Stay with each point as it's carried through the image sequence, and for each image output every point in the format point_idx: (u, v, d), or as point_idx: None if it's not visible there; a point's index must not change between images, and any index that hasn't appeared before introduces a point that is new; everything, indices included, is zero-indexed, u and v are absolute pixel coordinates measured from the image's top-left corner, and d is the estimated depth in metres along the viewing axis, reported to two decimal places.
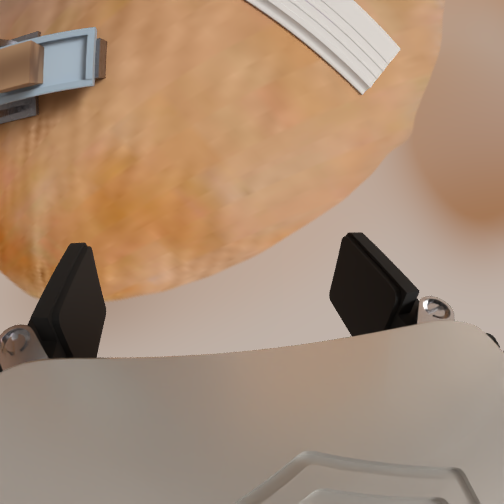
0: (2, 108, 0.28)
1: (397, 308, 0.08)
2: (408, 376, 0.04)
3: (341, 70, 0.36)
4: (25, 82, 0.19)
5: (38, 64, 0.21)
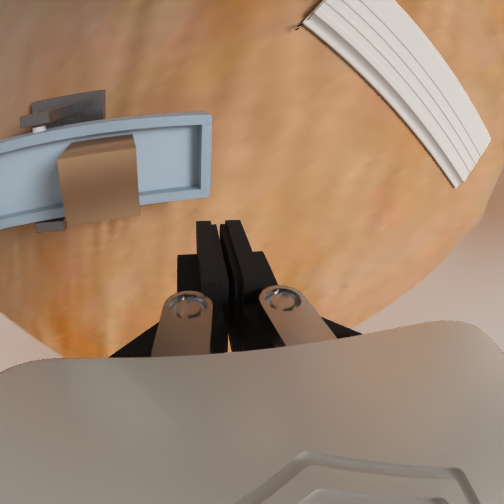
0: None
1: (241, 296, 0.08)
2: (408, 376, 0.04)
3: (444, 167, 0.35)
4: (134, 214, 0.19)
5: None
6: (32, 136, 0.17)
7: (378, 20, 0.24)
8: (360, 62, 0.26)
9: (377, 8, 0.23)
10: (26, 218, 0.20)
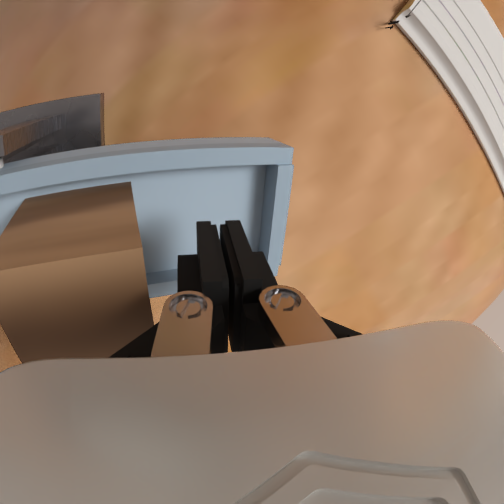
0: None
1: (241, 296, 0.08)
2: (407, 376, 0.04)
3: None
4: None
5: None
6: None
7: (472, 31, 0.15)
8: (454, 81, 0.18)
9: (471, 16, 0.14)
10: None
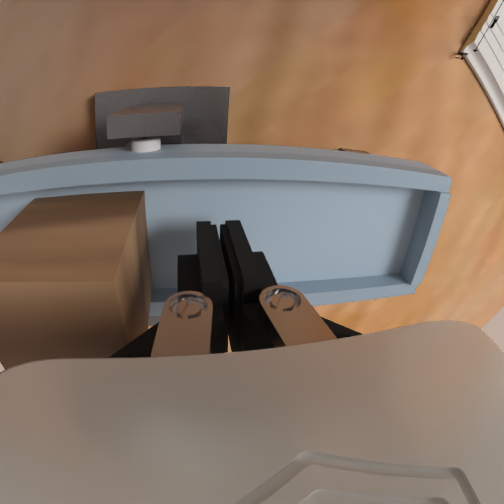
0: None
1: (241, 296, 0.08)
2: (407, 376, 0.04)
3: None
4: None
5: (141, 275, 0.10)
6: (136, 162, 0.10)
7: None
8: (501, 103, 0.19)
9: None
10: None
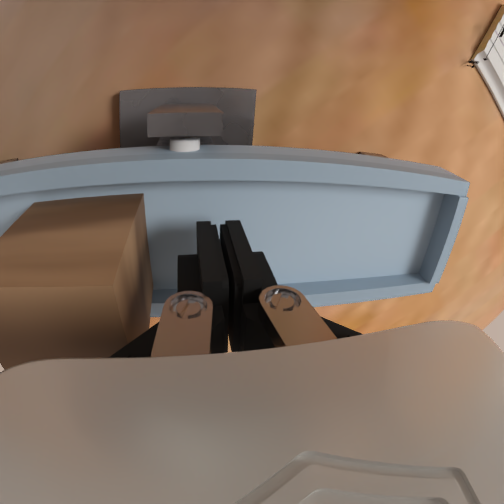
0: None
1: (241, 296, 0.08)
2: (407, 376, 0.04)
3: None
4: None
5: (142, 278, 0.11)
6: (180, 162, 0.10)
7: None
8: None
9: None
10: None
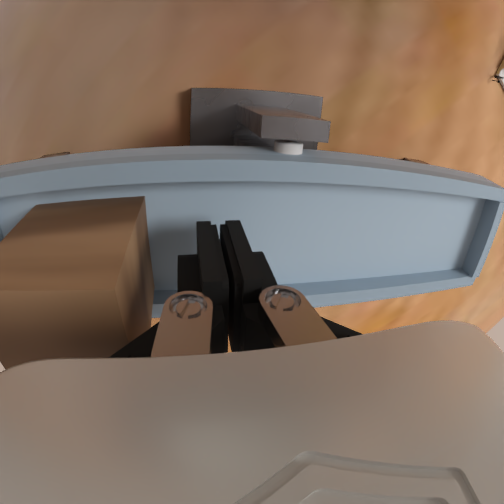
0: None
1: (241, 296, 0.08)
2: (407, 376, 0.04)
3: None
4: None
5: (143, 280, 0.11)
6: (298, 164, 0.11)
7: None
8: None
9: None
10: None
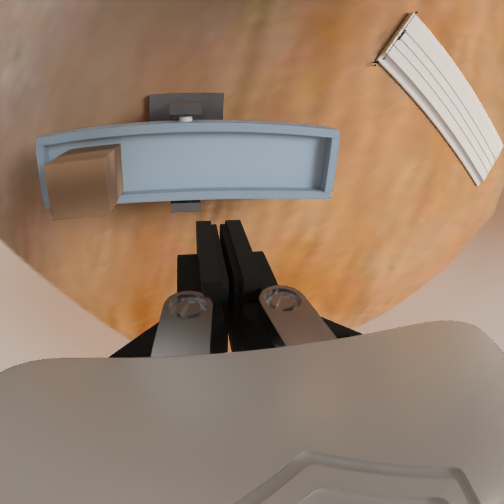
0: None
1: (241, 296, 0.08)
2: (407, 376, 0.04)
3: (469, 170, 0.42)
4: (104, 214, 0.21)
5: (116, 175, 0.23)
6: (184, 124, 0.24)
7: (427, 58, 0.31)
8: (415, 91, 0.34)
9: (426, 48, 0.30)
10: (165, 196, 0.27)
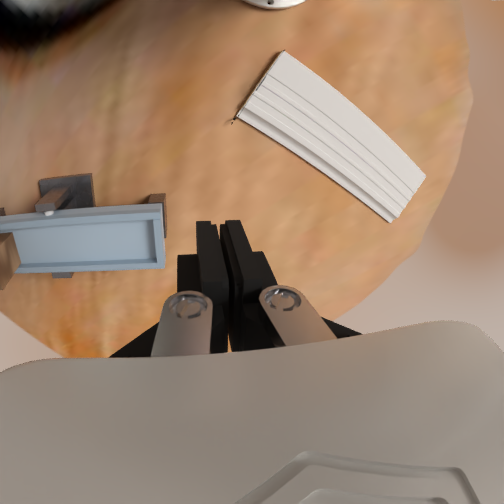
0: None
1: (241, 296, 0.08)
2: (407, 376, 0.04)
3: (375, 208, 0.47)
4: (0, 289, 0.26)
5: (9, 258, 0.28)
6: (43, 220, 0.29)
7: (301, 99, 0.36)
8: (287, 139, 0.39)
9: (301, 88, 0.35)
10: (43, 269, 0.32)
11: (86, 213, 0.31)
